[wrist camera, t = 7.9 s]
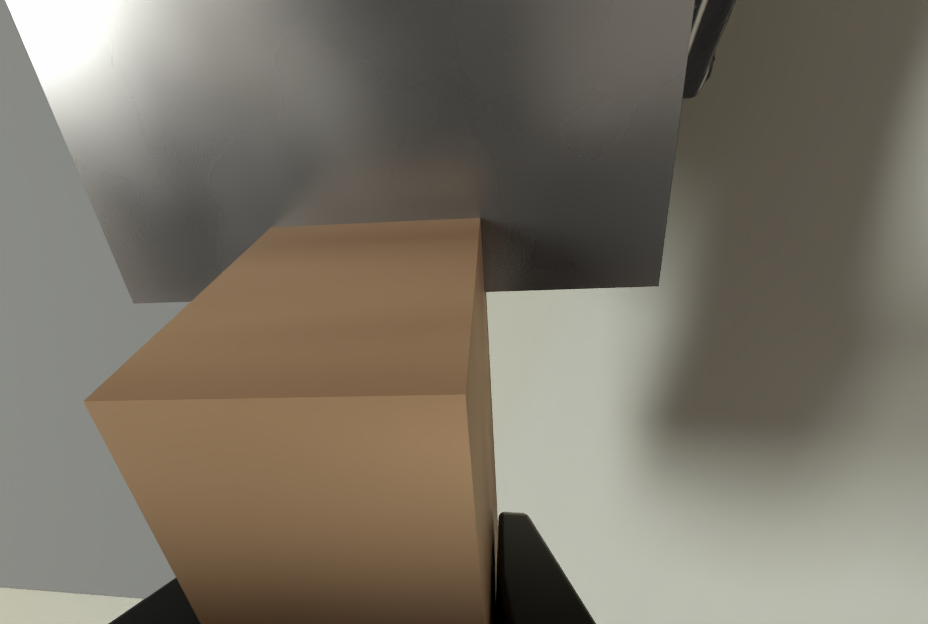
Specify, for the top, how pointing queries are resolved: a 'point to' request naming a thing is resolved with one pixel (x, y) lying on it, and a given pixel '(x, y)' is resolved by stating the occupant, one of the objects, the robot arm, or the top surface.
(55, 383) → the mat
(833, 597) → the top surface
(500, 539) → the robot arm
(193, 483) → the turner
